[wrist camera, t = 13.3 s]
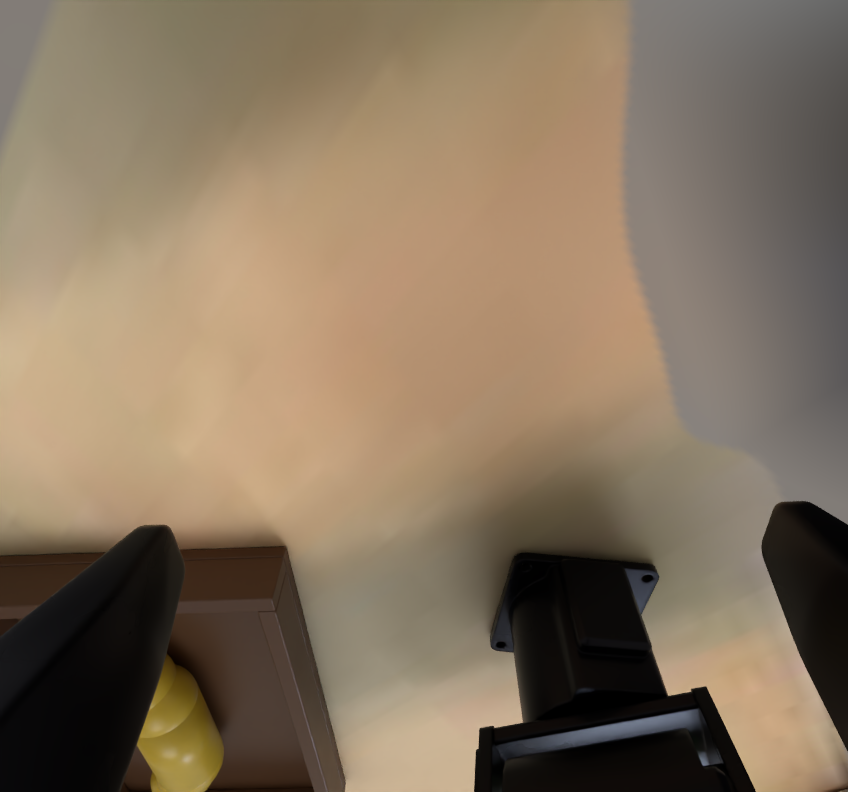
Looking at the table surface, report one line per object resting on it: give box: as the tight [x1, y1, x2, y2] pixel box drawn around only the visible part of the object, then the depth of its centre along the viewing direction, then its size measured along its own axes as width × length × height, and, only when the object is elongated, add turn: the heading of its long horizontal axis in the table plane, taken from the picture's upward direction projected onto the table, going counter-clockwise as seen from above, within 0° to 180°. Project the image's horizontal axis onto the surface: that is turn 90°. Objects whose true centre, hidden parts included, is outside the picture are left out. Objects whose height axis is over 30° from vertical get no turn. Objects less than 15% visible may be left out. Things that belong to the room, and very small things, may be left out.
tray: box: [0, 547, 346, 792], centre depth 31 cm, size 21×14×3 cm
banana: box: [137, 654, 224, 792], centre depth 30 cm, size 15×6×3 cm, turn 3°
